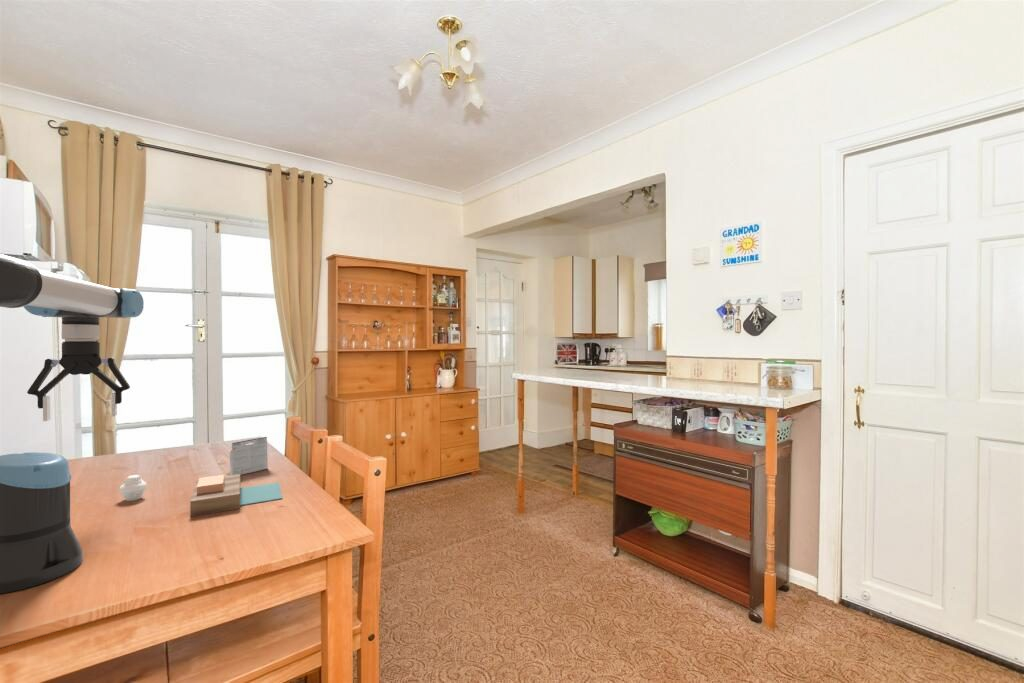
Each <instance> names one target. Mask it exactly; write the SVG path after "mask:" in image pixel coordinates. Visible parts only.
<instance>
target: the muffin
mask: <svg viewBox="0 0 1024 683" xmlns="http://www.w3.org/2000/svg"><path fill="white" fill-rule="evenodd" d="M147 486H148V483H147V482H146V481H145V480H143V479H142V477H141V476H140V475H139V474H132V475H129V476H127V477H125V481H124V482H123V484H122V485H120V486H119V489H118V490H119V492H120V495H121V496H122V497H123V498H124V499H125V501H127V502H130V501H136V500H140V499H141V498H142V496H143V494H144V493H145V491H146V488H147Z"/></svg>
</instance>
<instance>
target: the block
mask: <svg viewBox="0 0 1024 683" xmlns="http://www.w3.org/2000/svg"><path fill="white" fill-rule="evenodd" d="M224 476H225V474H219V475H210V476H204V477H199V479H198V480H199V482H198V485H197V494H202V493H209V492H216V491H222V490H223V487H224Z"/></svg>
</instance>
